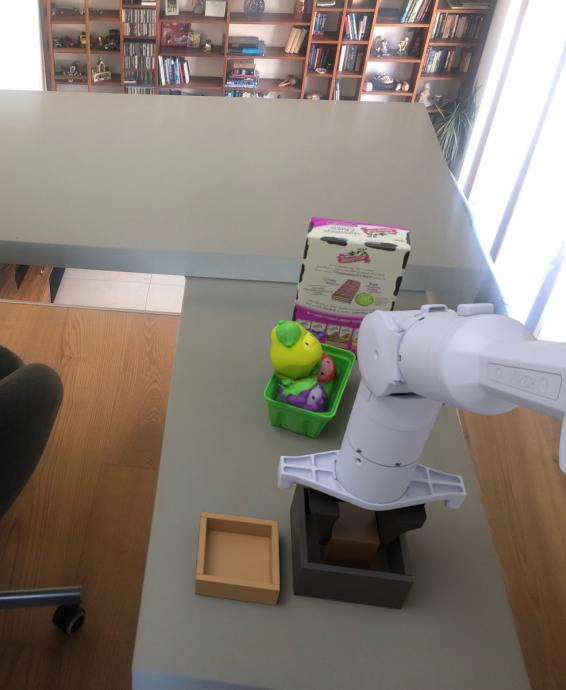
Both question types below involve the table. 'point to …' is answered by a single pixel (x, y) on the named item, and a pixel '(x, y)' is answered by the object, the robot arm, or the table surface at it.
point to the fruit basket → (305, 379)
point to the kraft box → (238, 558)
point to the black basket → (341, 582)
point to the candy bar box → (348, 277)
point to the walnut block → (352, 538)
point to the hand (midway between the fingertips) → (347, 538)
